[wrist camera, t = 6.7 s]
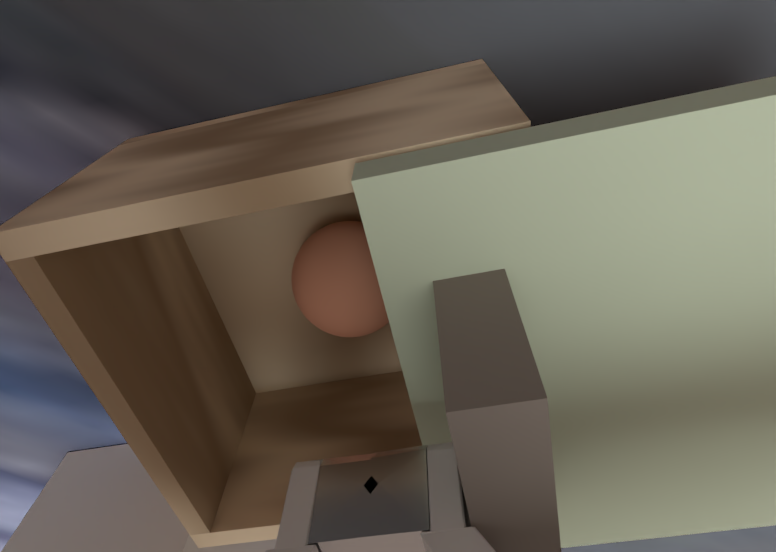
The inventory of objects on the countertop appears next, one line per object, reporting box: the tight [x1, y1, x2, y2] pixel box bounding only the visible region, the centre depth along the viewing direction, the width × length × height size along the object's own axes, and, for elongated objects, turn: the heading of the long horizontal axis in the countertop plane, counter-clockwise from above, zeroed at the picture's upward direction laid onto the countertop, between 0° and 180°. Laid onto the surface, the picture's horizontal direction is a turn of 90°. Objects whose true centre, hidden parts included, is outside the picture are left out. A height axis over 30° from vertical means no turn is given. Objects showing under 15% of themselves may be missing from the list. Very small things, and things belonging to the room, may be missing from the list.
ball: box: [291, 221, 389, 337], centre depth 15 cm, size 3×3×3 cm
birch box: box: [0, 59, 531, 548], centre depth 14 cm, size 10×10×6 cm
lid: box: [351, 76, 776, 552], centre depth 9 cm, size 10×10×4 cm
